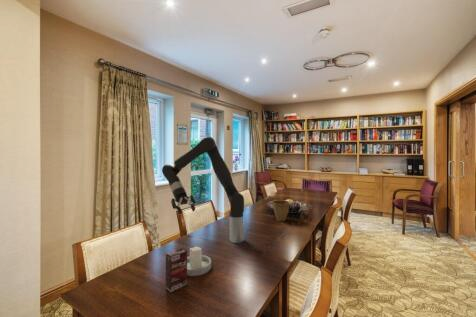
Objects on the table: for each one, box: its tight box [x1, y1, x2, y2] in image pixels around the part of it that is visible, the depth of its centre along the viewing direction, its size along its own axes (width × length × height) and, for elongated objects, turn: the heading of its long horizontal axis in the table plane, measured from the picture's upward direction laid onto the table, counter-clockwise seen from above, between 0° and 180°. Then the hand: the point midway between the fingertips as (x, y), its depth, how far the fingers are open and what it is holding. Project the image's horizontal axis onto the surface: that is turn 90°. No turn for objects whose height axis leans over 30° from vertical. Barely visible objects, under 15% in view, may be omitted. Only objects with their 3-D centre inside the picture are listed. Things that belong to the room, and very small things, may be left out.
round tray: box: [187, 254, 212, 277], centre depth 120 cm, size 16×16×3 cm
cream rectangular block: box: [189, 246, 203, 269], centre depth 120 cm, size 5×5×9 cm
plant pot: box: [272, 199, 291, 222], centre depth 200 cm, size 15×15×16 cm
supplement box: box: [165, 248, 188, 293], centre depth 103 cm, size 9×5×16 cm, turn 136°
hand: (187, 212), depth 135 cm, fingers open, 8 cm apart
